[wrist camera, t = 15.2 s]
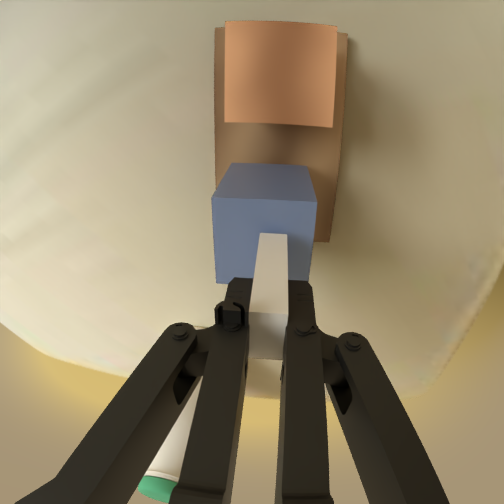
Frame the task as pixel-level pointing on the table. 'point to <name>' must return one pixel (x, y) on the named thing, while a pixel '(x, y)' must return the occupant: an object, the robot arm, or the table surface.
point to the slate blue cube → (262, 217)
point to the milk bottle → (170, 455)
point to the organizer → (282, 102)
